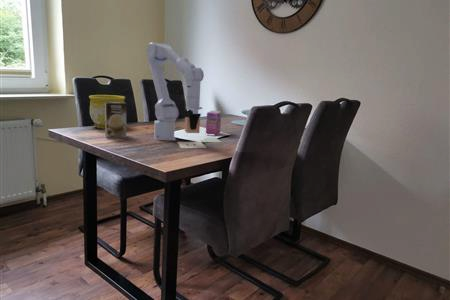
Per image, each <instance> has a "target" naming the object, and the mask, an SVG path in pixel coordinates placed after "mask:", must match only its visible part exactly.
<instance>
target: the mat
mask: <svg viewBox="0 0 450 300" xmlns="http://www.w3.org/2000/svg"><path fill="white" fill-rule="evenodd" d="M205 138H206V139H204V140H200V142H202V143H222V141H221V140H219V139H218V137H205Z"/></svg>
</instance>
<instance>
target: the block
mask: <svg viewBox="0 0 450 300" xmlns="http://www.w3.org/2000/svg"><path fill="white" fill-rule="evenodd" d="M200 125H201V119H200V118H199V120H198V123H197V127H196V130H191V128H190V121H189V117H186V116H185V117H184V131H185V133H186V134H200V128H201V126H200Z"/></svg>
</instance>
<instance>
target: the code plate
mask: <svg viewBox="0 0 450 300" xmlns="http://www.w3.org/2000/svg"><path fill="white" fill-rule="evenodd" d="M203 143H204V142H202V141H177V144H178V146H179V148H180V149H207V146H205V145H204V144H203Z"/></svg>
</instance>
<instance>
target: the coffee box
mask: <svg viewBox="0 0 450 300" xmlns="http://www.w3.org/2000/svg"><path fill="white" fill-rule="evenodd" d="M104 136H105V138H106V139H109V138H110V139H117V138H119V139H120V138H121V139H122V138H125V139H126V138H127V103H126V102H125V101H124V102H105V129H104Z"/></svg>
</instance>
